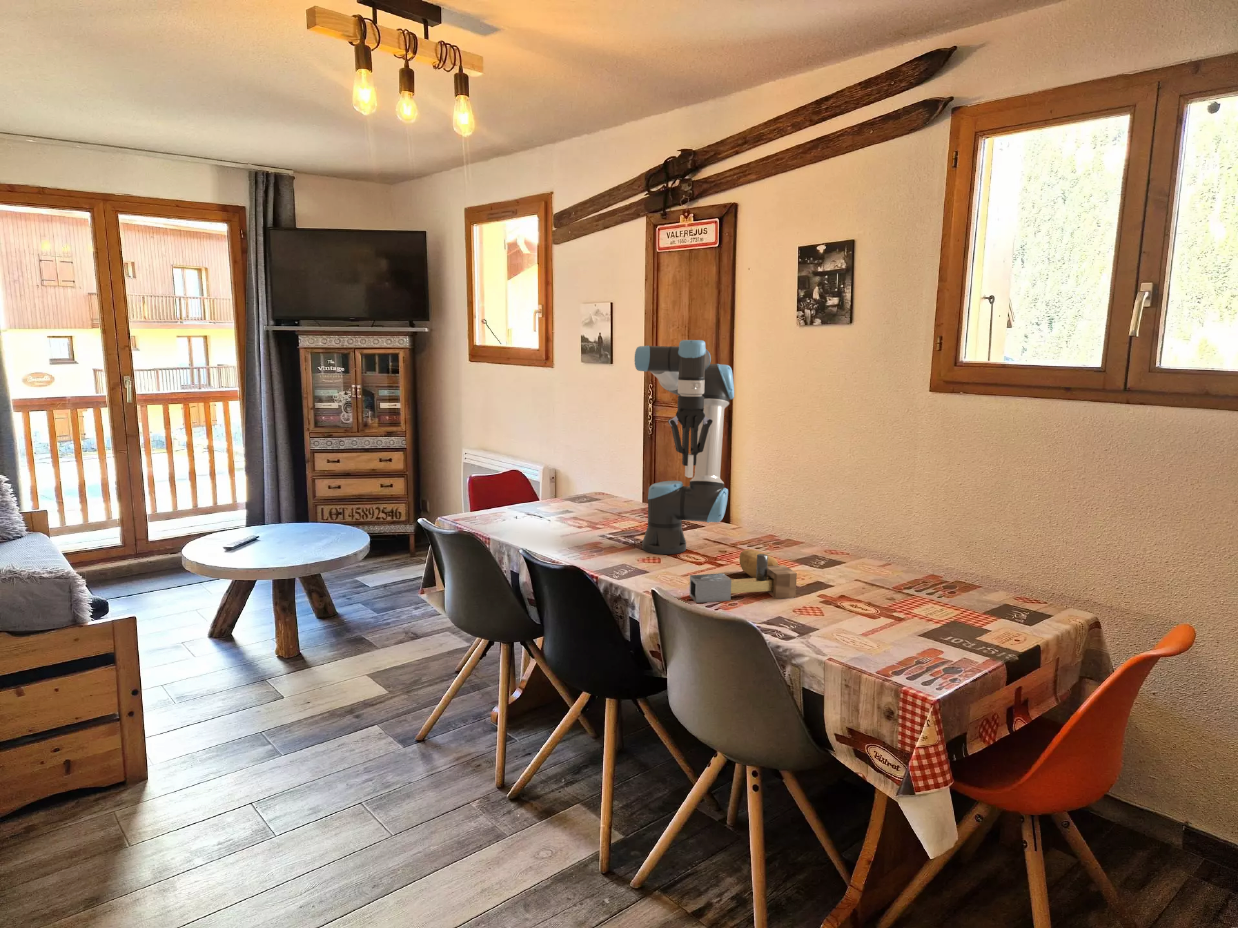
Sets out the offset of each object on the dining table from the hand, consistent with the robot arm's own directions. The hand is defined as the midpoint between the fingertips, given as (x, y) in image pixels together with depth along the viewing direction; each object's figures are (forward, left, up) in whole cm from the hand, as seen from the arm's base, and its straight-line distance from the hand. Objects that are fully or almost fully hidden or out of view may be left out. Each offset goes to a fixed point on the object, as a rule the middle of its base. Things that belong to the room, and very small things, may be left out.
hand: (688, 476), depth 223 cm
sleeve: (+14, +2, -32) cm, 35 cm away
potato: (-1, +23, -32) cm, 40 cm away
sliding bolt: (+14, +14, -31) cm, 36 cm away
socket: (+14, +23, -32) cm, 42 cm away
